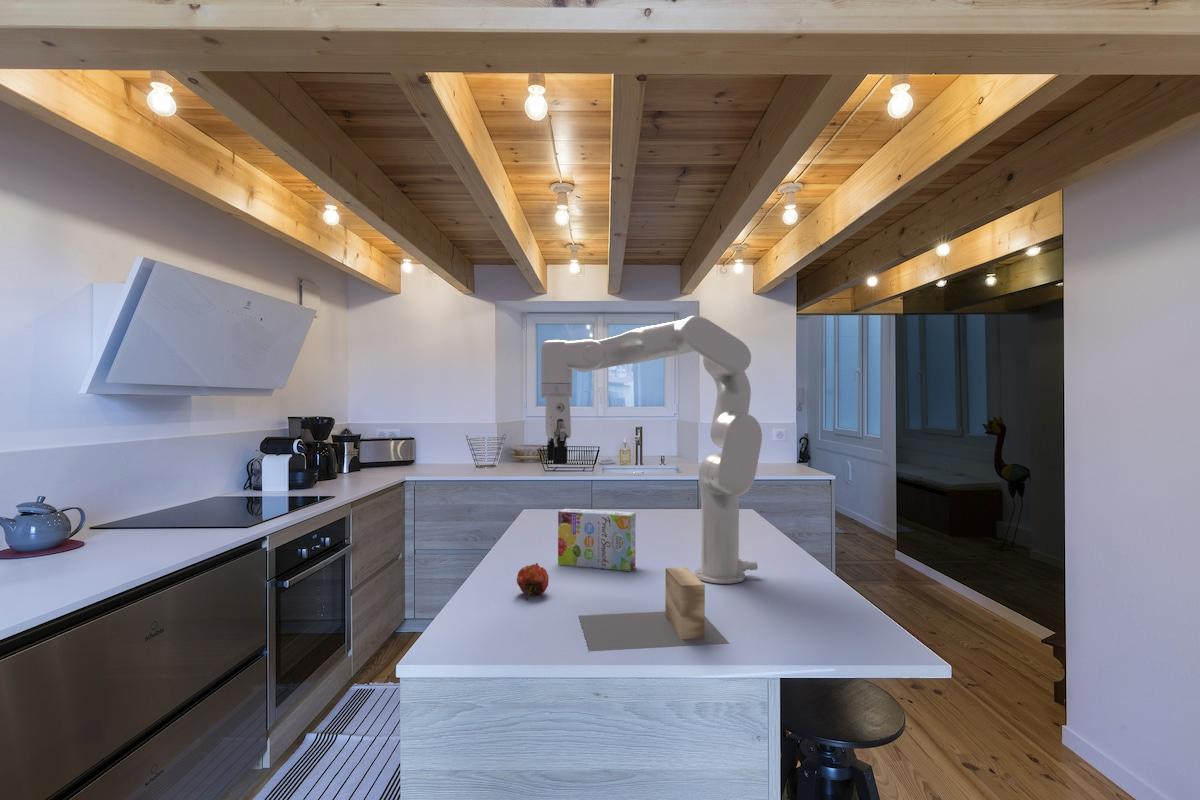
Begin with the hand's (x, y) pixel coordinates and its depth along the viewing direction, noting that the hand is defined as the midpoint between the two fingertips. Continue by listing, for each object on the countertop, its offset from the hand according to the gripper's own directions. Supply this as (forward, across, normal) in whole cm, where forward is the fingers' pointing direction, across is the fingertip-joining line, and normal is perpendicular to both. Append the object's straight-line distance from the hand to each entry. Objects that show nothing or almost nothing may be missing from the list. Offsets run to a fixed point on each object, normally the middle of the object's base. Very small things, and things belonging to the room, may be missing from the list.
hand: (556, 461), depth 145 cm
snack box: (+31, +16, -14) cm, 37 cm away
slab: (+30, -32, -20) cm, 48 cm away
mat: (+30, -32, -13) cm, 46 cm away
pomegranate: (+31, -5, +6) cm, 32 cm away
